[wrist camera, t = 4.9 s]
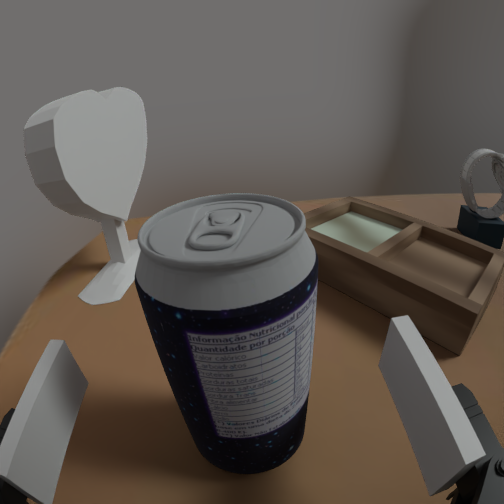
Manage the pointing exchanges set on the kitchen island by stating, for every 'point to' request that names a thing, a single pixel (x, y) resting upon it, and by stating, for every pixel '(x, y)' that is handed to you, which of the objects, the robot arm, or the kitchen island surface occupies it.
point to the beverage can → (233, 322)
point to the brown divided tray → (406, 268)
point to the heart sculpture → (93, 171)
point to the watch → (482, 218)
